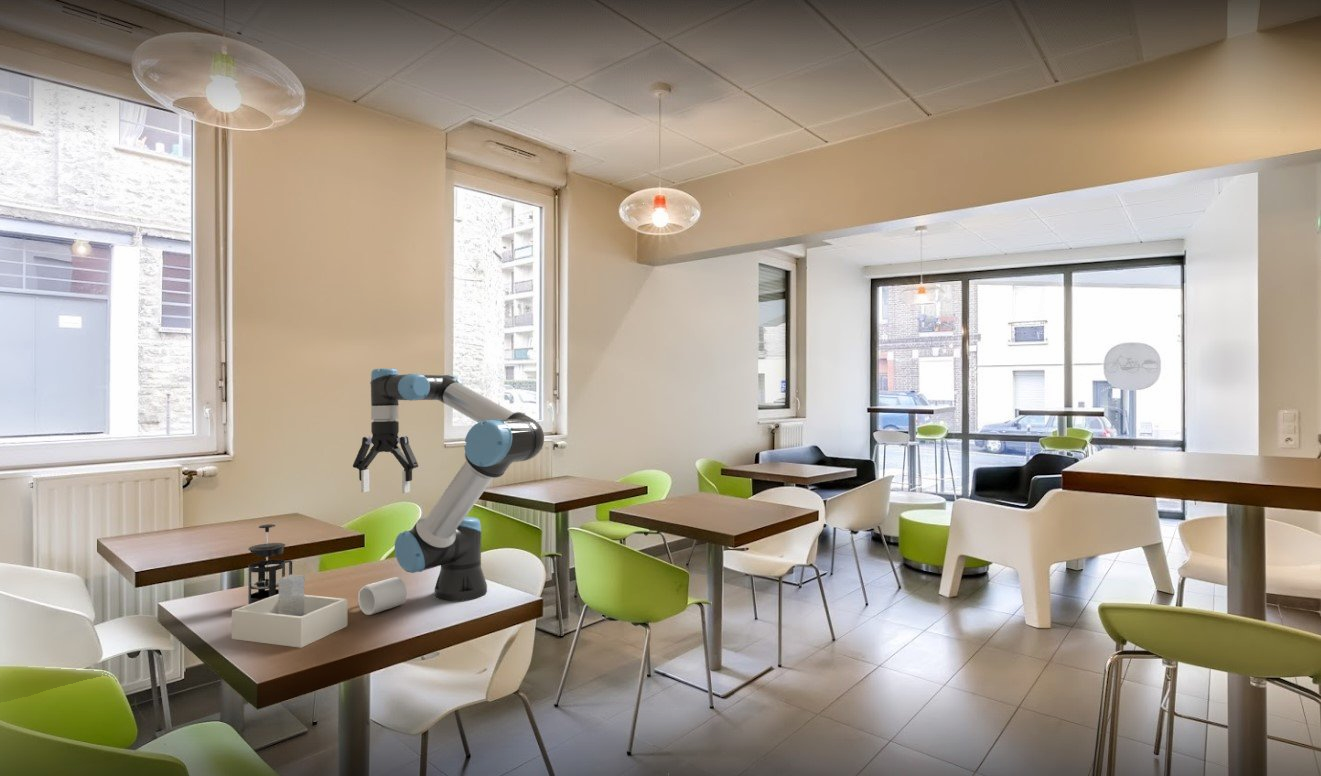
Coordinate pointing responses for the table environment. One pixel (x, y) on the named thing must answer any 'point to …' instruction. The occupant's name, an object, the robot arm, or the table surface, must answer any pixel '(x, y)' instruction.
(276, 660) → the table surface
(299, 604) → the peg
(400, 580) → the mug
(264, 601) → the box
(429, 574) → the table surface
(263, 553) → the french press
